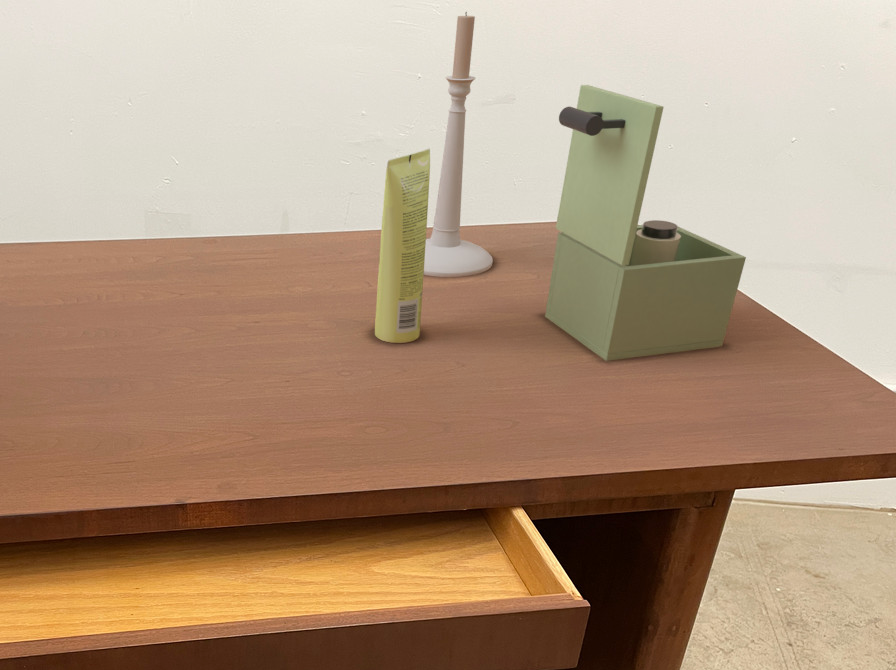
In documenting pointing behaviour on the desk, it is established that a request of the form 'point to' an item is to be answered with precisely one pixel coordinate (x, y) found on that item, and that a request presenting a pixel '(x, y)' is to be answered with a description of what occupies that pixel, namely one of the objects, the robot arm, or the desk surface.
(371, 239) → the desk surface
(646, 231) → the spice bottle
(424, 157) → the tube
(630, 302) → the chest
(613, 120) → the lid
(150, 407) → the desk surface
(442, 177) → the candlestick
